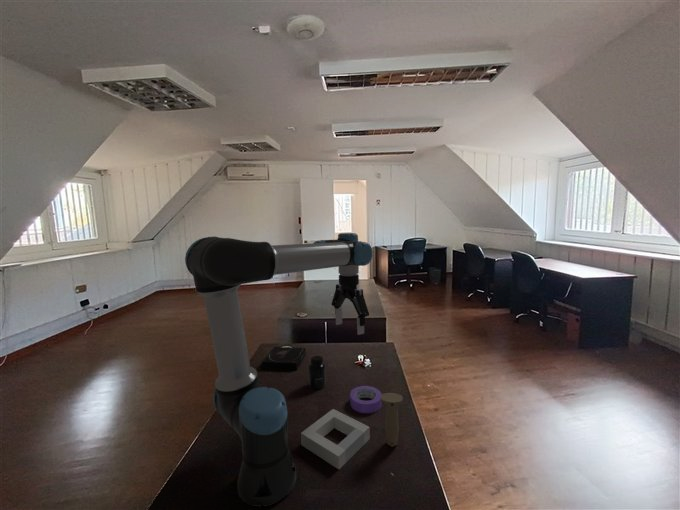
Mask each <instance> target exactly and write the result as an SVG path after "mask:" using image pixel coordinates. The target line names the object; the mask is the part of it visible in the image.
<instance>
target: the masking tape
mask: <svg viewBox="0 0 680 510" xmlns="http://www.w3.org/2000/svg"><path fill="white" fill-rule="evenodd" d="M382 394H383V393H382V392H381V391H380V390H379V389H378V388H377V387H376V388H375V387H374V386H370V385H361V386H357V387H355V388H353V389H351V391H350V395H349V403H350V407H351V408H352V409H353V410H354V411H355V412H358V413H361V414H372V413H375V412H377V411H379V410H380V409H381V408H382V405H383V403H382V402H381V395H382ZM363 398H369V399H370V400H364V399H363Z"/></svg>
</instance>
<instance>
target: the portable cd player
mask: <svg viewBox="0 0 680 510" xmlns="http://www.w3.org/2000/svg"><path fill="white" fill-rule="evenodd" d="M306 355H307V353H306V347H290V346H289V347H284V346H283V347H282V346H274V347H273V348H272V350H270V352H269V353H268V354H267V355H266V357H264V359H263V360H262V361H261V364H260V365H261V367H260V368H261V369H262V370H276V371H277V370H280V371H298V369H299V368H300V366H301V364H302V362H303V361H304V358H305V356H306Z"/></svg>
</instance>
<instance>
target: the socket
mask: <svg viewBox="0 0 680 510" xmlns="http://www.w3.org/2000/svg"><path fill="white" fill-rule="evenodd" d="M334 429H335V430H337V431H338V432H339V431H340V433H342V434H344V435H346V437H344V439H342V440H341V441H340V442H339V443H335V442H333V441H331V440H329V439H328V438H326V437H325V436H326V435H328V434H329V433H330V432H332V431H333V430H334ZM370 439H371V433H370V425H369V426H368V425H366V424H365V423H363V422H360V421H358V420H356V419H355V418H352V417H351V416H348V415H347V414H345V413H342V412H341V411H338V410H337V409H334V408H332V409H331V410H329V411H328V412H327V413H326V414H324V415H323V416H322V417H320V418H318V420H316V421H315V422H314V423H312V424H311V425H309V426H308V427H307V428H305V429H304V430H303V431H302V432H301V433H300V444H301V446H302V447H304V449H307V450H308V451H310V452H311V453H313V454H314V455H316V456H318V457H319V458H321V459H322V460H324V461H325V462H326V463H328V464H329V465H331V466H333V467H334V468H336V469H337V470H340V469H341V468H342V467H344V466H345V464H347V462H348V461H350V459H351V458H352V457H353V456H355V454H357V452H358V451H359V450H360V449H361V448H362V447H363V446H365V444H366V443H367V442H368V441H369V440H370Z"/></svg>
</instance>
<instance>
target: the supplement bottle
mask: <svg viewBox="0 0 680 510" xmlns="http://www.w3.org/2000/svg"><path fill="white" fill-rule="evenodd" d="M323 360H324V359H323V356H322V355H313V356H311V358H310V364H309V365H308V386H309V388H310V389H312V390H321V389H323V388H325V386H326V364H325V363H324V361H323Z"/></svg>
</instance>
